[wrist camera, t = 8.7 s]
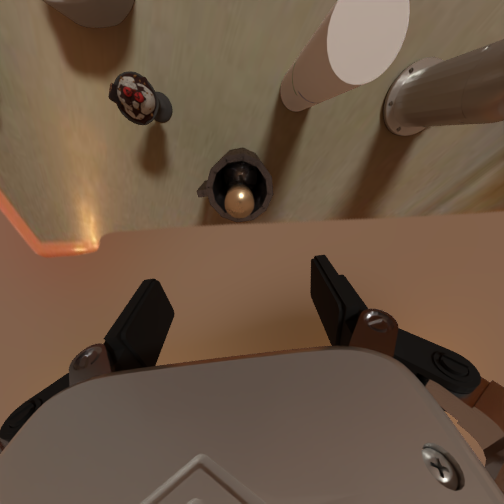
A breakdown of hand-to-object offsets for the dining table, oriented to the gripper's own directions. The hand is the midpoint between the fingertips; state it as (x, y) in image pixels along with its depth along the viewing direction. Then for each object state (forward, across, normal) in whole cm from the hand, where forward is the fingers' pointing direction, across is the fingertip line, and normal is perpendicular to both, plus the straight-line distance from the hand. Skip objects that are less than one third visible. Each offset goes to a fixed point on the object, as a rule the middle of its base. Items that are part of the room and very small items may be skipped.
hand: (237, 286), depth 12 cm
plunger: (+38, 0, 0) cm, 38 cm away
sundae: (+40, +14, -15) cm, 45 cm away
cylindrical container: (+40, -14, -14) cm, 45 cm away
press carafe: (+40, +1, 0) cm, 40 cm away
